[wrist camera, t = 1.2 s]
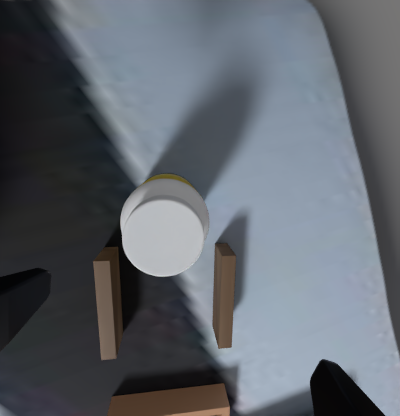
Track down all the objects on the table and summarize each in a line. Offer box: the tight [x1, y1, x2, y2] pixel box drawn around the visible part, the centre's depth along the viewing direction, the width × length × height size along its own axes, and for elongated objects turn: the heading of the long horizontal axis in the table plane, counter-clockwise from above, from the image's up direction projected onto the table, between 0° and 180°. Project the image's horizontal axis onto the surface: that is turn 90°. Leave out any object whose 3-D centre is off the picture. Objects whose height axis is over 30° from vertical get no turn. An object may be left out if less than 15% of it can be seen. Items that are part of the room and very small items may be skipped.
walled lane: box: [93, 243, 236, 360], centre depth 20 cm, size 11×9×3 cm
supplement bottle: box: [120, 173, 209, 276], centre depth 15 cm, size 5×5×10 cm
